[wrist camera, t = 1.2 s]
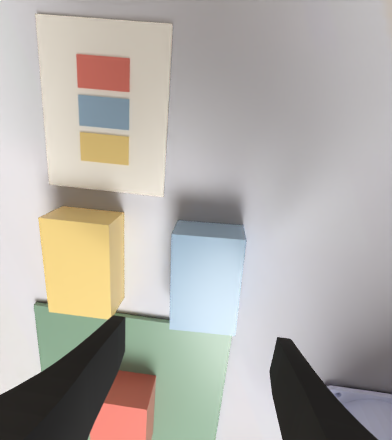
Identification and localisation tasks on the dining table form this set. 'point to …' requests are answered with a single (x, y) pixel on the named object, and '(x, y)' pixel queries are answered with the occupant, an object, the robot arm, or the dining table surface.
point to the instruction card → (105, 102)
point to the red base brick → (127, 409)
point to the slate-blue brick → (206, 276)
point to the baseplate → (154, 366)
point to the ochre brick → (83, 261)
